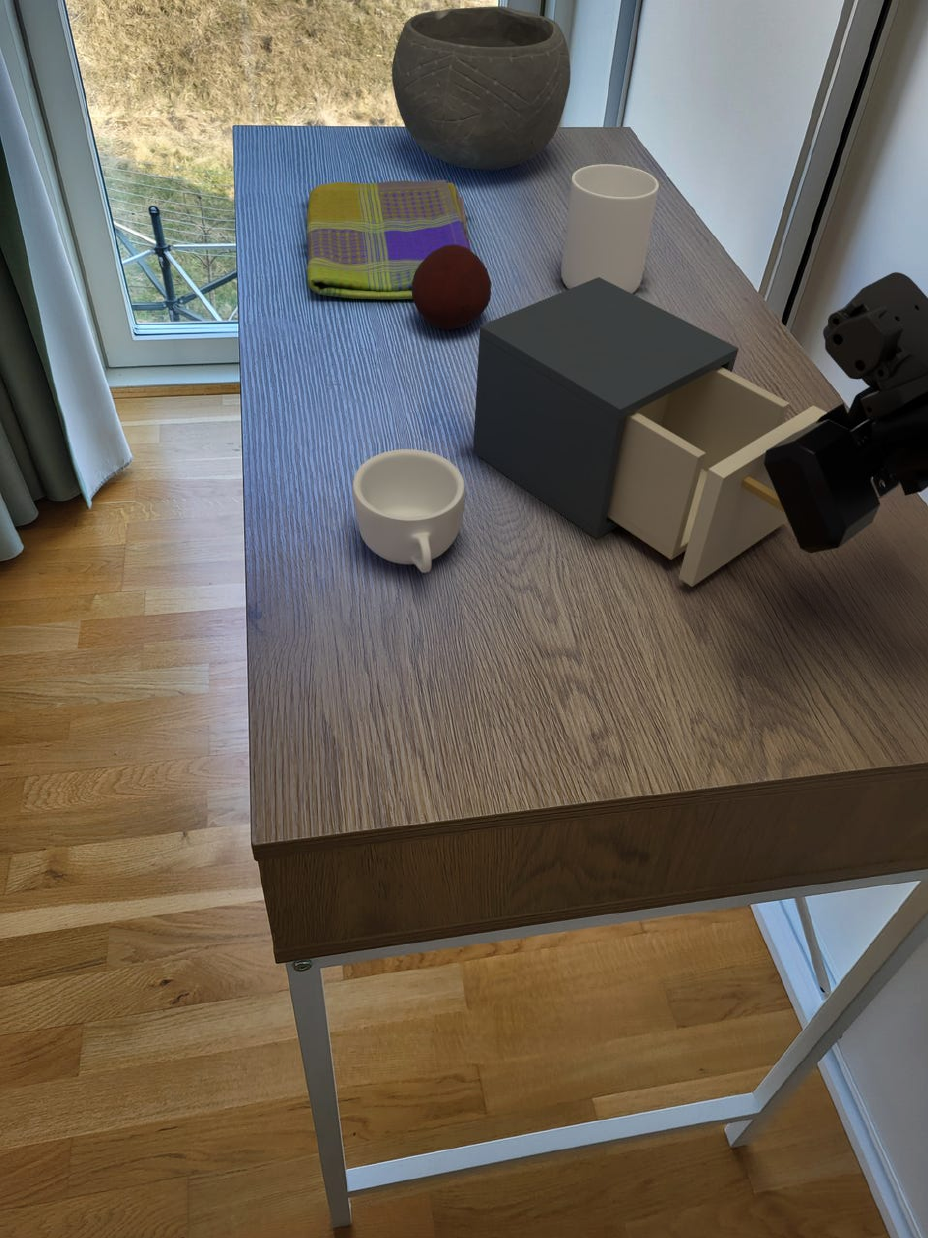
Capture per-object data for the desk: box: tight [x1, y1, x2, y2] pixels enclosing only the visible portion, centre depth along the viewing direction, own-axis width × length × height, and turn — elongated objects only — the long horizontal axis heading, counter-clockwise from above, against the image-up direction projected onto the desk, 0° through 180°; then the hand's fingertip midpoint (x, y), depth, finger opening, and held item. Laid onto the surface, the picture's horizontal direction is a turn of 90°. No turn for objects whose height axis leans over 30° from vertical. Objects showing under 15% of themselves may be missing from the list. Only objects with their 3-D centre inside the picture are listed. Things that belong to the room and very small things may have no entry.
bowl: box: [391, 5, 572, 171], centre depth 114 cm, size 21×21×15 cm
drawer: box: [607, 366, 828, 588], centre depth 66 cm, size 17×11×9 cm, turn 41°
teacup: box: [351, 448, 466, 574], centre depth 65 cm, size 10×8×5 cm
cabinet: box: [472, 277, 739, 540], centre depth 72 cm, size 14×13×11 cm
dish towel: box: [306, 179, 471, 300], centre depth 100 cm, size 18×24×3 cm
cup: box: [560, 163, 660, 294], centre depth 95 cm, size 8×12×10 cm
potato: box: [411, 244, 492, 330], centre depth 88 cm, size 7×8×7 cm
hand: (777, 472), depth 62 cm, fingers closed, pressing on drawer
